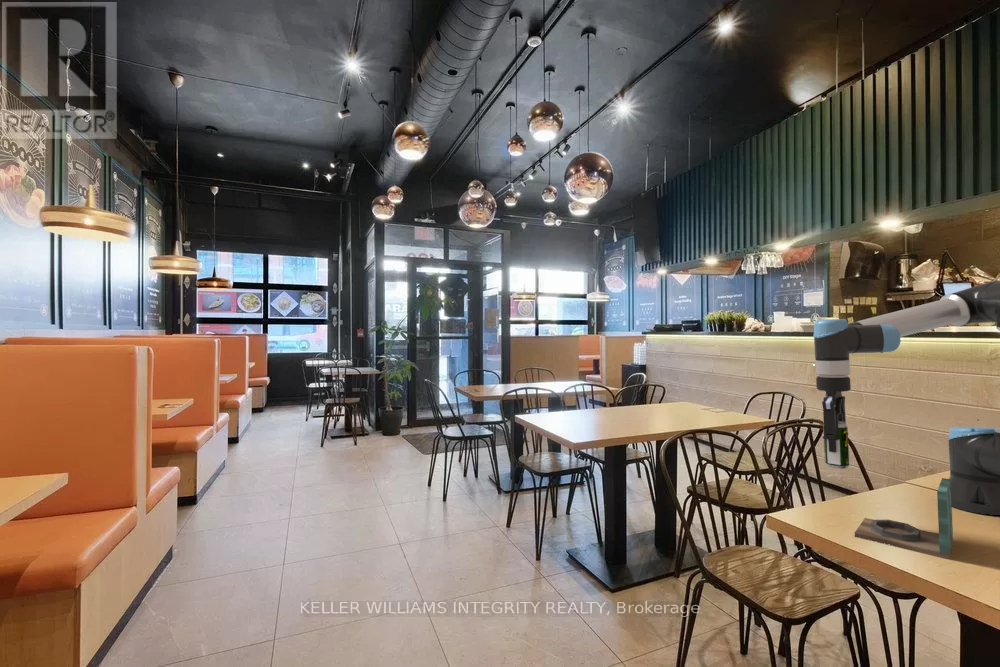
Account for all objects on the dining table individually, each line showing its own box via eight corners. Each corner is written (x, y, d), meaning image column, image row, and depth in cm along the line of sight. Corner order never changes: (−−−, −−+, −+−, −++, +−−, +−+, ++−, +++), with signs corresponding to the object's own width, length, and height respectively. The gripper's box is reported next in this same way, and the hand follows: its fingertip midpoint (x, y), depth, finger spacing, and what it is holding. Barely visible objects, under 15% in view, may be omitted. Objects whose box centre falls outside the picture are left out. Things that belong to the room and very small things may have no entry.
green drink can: (826, 467, 122) (824, 423, 123) (823, 462, 127) (821, 419, 127) (851, 469, 120) (849, 424, 120) (847, 464, 125) (845, 420, 125)
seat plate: (865, 521, 124) (862, 466, 124) (953, 540, 111) (950, 479, 111) (854, 536, 115) (852, 477, 115) (949, 559, 102) (946, 492, 103)
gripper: (824, 372, 133) (828, 452, 132) (806, 378, 120) (811, 466, 120) (857, 373, 127) (861, 456, 127) (841, 379, 115) (846, 471, 115)
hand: (837, 461), depth 124 cm, fingers closed on green drink can, 5 cm apart
